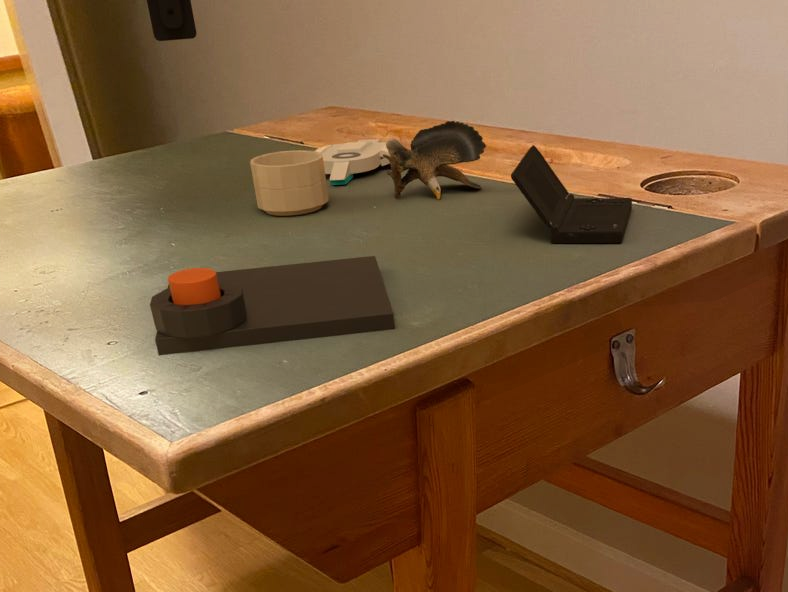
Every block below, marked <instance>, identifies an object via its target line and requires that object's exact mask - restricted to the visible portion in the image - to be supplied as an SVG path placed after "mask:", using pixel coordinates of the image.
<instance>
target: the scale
mask: <svg viewBox="0 0 788 592" xmlns="http://www.w3.org/2000/svg"><path fill="white" fill-rule="evenodd" d="M379 267H380V266H379V264H378V261H377V258H376V255H368V256H359V257H349V258H340V259H331V260H329V259H328V260H321V261H311V262H300V263H292V264H282V265H281V264H280V265H273V266H272V265H271V266H263V267H252V268H243V269H241V268H240V269H234V270H232V269H231V270H224V271H223V270H222V271H215V272H216V274H217V279H218V284H219V289H220V294H221V297H220V298H219V299H217V300H214V301H211V302H207V303H204V304H194V305H177V304H174V303H173V299H172V295H171V291H170V286H169V283H168V284H167V288H165V289H164V290H161V291H160V292H157V293H156V294H155V295H153V296H152V297H151V299H150V303H149V307H150V311H151V316H152V319H153V323H154V327H155V330H156V334H155V338H154V342H155V346H156V349H157V353H158V356H166V355H175V354H183V353H184V354H185V353H194V352H195V353H196V352H202V351H211V350H221V349H229V348H240V347H249V346H257V345H266V344H267V345H268V344H274V343H275V344H276V343H283V342H285V343H286V342H293V341H300V340H301V341H302V340H310V339H311V340H313V339H321V338H328V337H330V338H331V337H338V336H339V337H340V336H347V335H355V334H364V333H366V334H367V333H373V332H374V333H375V332H383V331H392V330H396V327H395V317H394V311H393V308H392V305H391V302H390V298H389V296H388V292H387V288H386V286H385V282H384V279H383V276H382V273H381V271H380V268H379Z"/></svg>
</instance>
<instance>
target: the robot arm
mask: <svg viewBox="0 0 788 592" xmlns="http://www.w3.org/2000/svg"><path fill="white" fill-rule="evenodd" d="M146 4H147V8H148V14H149V19H150V25H151V29H152V33H153V37H154V39H155V40H156V41H157V42H165V41H166V42H167V41H178V40H191V39H195V38H197V28H196V21H195V16H194V11H193V6H192V1H191V0H146Z"/></svg>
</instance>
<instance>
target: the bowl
mask: <svg viewBox="0 0 788 592" xmlns="http://www.w3.org/2000/svg"><path fill="white" fill-rule="evenodd" d="M249 161H250V162H249V163H250V169H251V177H252V181H253V186H254V193H255V198H256V203H257V208H258V209H260V210H262V211H265V213H266V214H268V215H272V216H280V217H291V216H300V215H306V214H310V213H313V212H317V211H319V210H320V209H322V208H323V207H324V205H325V204H326V203H328V202H329V193H328V185H327V179H326V174H325V170H324V162H323V156H322V153H319V152H316V150H305V149H304V150H299V149H298V150H283V151H275V152H270V153H264V154H261V155H258V156H255V157H253V158H251V160H249Z"/></svg>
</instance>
